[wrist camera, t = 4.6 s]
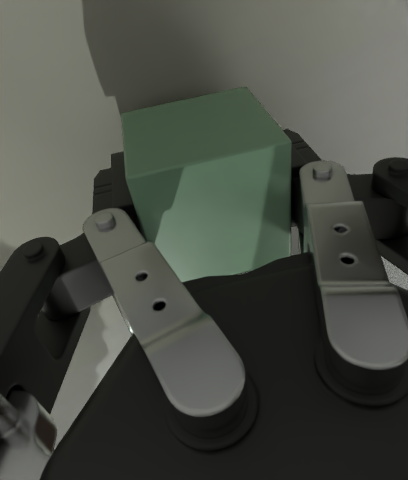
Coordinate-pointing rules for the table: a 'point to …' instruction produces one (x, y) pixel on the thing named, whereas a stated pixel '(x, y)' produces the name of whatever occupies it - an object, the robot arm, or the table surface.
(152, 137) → the block
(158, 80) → the table surface
